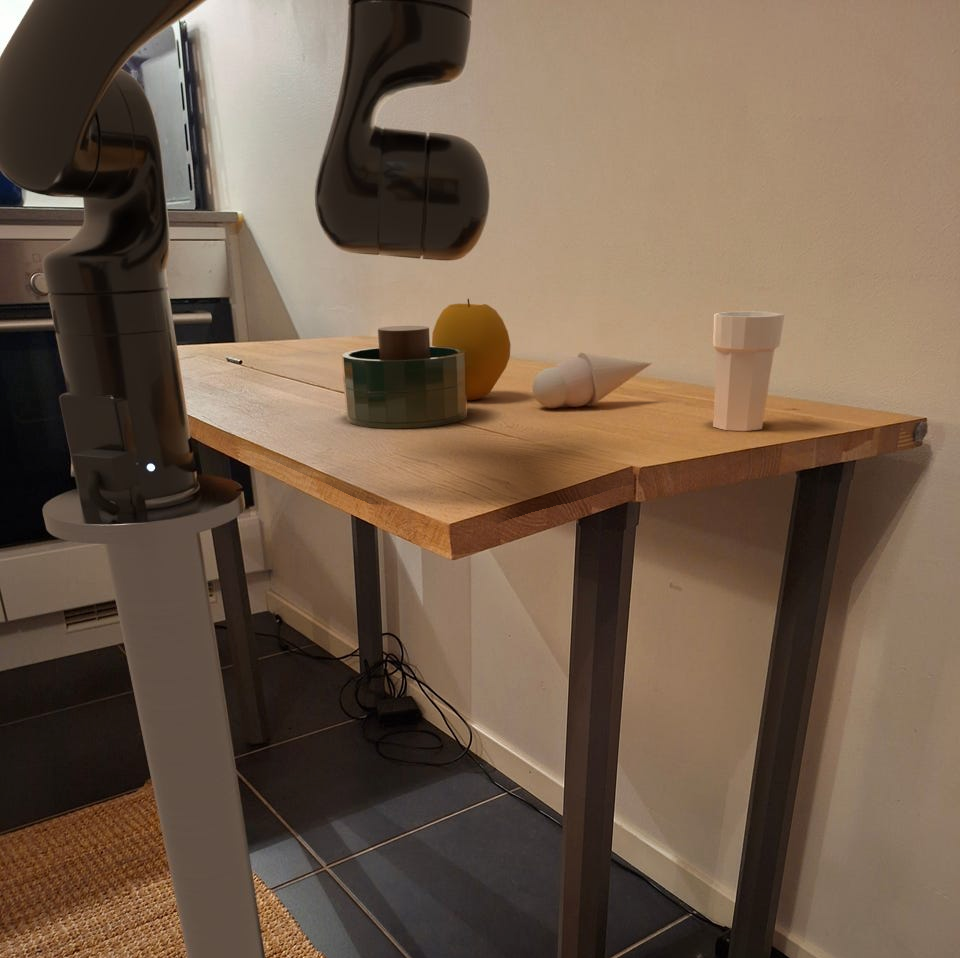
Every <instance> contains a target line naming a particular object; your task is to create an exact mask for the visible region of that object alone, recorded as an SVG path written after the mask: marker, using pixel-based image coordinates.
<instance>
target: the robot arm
mask: <svg viewBox="0 0 960 958" xmlns="http://www.w3.org/2000/svg"><path fill="white" fill-rule="evenodd" d="M207 1H208V0H32V1H31V3H30V5H29V7H28V8H27V10H26V12H25V14H23V15H24V16H23V17H22V18H21V20H20V21H19V24H18V26H17V27H16V28H15V30H14V32H13V34H12V35H11V37H10V39H9V41H8V43H7V44H6V46H5V47H4V49H3V50H2V53H1V55H0V172H1V174H2V175H3V176H4V177H5V178H6V179H7V180H9V182H11V183H13V184H14V185H15V186H17V187H18V188H20V189H22V190H24V191H27V192H29V193H34V194H37V195H42V196H46V197H47V196H48V197H52V198H53V197H54V198H55V197H56V198H82V199H83V200H82V201H83V223H82V226H81V227H80V229H79V230H78V232H77V233H76V234H75V235H73V237H72V238H71V239H70V240H68V241H67V242H66V243H64V244H62V245H60V246H58V247H56V248H53V249H52V250H50V251H48V253H46V255H45V256H44V257H43V260H42V274H43V279H44V283H45V288H46V292H47V293H48V294H47V298H48V303H49V308H50V313H51V317H52V318H51V319H52V323H53V327H54V333H55V339H56V342H57V348H58V353H59V358H60V362H61V367H62V372H63V377H64V382H65V387H66V392H64V393H61V394H60V395H59V397H58V401H59V406H60V411H61V416H62V420H63V425H64V431H65V434H66V440H67V444H68V445H67V446H68V449H69V455H70V460H71V464H72V470H73V472H74V479H75V483H76V484H75V485H76V489H78V493H79V498H80V503H81V508H88V509H97V510H103V511H105V512H107V513H109V514H110V515H112V516H115V515H117V514H118V513H119V512H123V513H132V514H137V513H141V512H143V511H147V510H152V509H159V508H165V507H169V506H174V505H177V504H181V503H184V502H187V501H189V500H191V499H193V498H195V497H197V496H198V495H199V494H200V486H199V481H198V480H197V475H198V473H197V469H196V462H195V455H194V454H195V453H196V448H195V441H194V438H193V437H192V435H191V430H190V429H191V428H190V423H189V416H188V410H187V403H186V397H185V396H186V395H185V390H184V383H183V377H182V371H181V370H182V369H181V365H180V364H181V363H180V357H179V350H178V344H177V338H176V332H175V324H174V317H173V311H172V303H171V298H170V291H169V289H168V288H169V283H168V274H167V268H168V261H169V257H170V251H171V231H170V221H169V213H168V202H167V192H166V183H165V171H164V161H163V160H164V159H163V152H162V144H161V138H160V132H159V126H158V123H157V119H156V116H155V113H154V110H153V107H152V104H151V102H150V99H149V98H148V96H147V94H146V92H145V89H143V87H142V85H141V84H140V83H139V81H138V80H137V79H136V78H135V77H134V76H133V75H132V74H130V73H129V72H127V71H126V70H125V69H122V68H123V67H124V65H126V63H127V62H128V61H129V60H130V59H131V58H132V56H134V55H135V54H136V52H138V51H139V50H140V49H141V48H142V47H144V45H146V44H147V43H148V42H150V41H151V40H153V39H154V38H155V37H157V36H158V35H159V34H161V33H163V31H166V29H168V28H169V27H171V26H173V25H174V24H175V23H177V22H179V21H180V20H181V19H183V18H184V17H186V16H187V15H189V14H191V12H194V10H196V9H197V8H198V7H200V6H202V4H204V3H206V2H207ZM473 2H474V0H347V4H348V7H347V8H348V9H347V27H346V28H347V30H346V45H345V53H344V61H343V67H342V74H341V77H340V78H341V79H340V84H339V89H338V94H337V99H336V103H335V106H334V110H333V114H332V118H331V122H330V124H329V129H328V131H327V136H326V139H325V142H324V145H323V149H322V153H321V157H320V160H319V164H318V169H317V173H316V178H315V184H314V207H315V213H316V216H317V220H318V222H319V225H320V227H321V229H322V231H323V233H324V235H325V236H326V238H327V239H328V240H329V242H330V243H331V244H332V245H333V246H334V247H335V248H337V249H339V250H341V251H343V252H346V253H349V254H350V253H351V254H356V255H357V254H358V255H369V256H384V257H393V258H408V259H417V260H419V259H422V260H432V261H444V262H445V261H446V262H447V261H448V262H449V261H457V260H461V259H464V258H465V257H466V256H467V255H469V254H470V253H471V252H472V251H473V250H474V249H475V247H477V245H478V244H479V241H480V240H481V238H482V237H483V234H484V232H485V230H486V227H487V224H488V221H489V217H490V212H491V211H490V210H491V201H492V188H491V179H490V175H489V171H488V167H487V165H486V162H485V160H484V157H483V155H482V154H481V152H480V151H479V149H478V148H477V146H475V144H474V143H472V142H471V141H470V140H469V139H466V138H464V137H461V136H458V135H455V134H451V133H450V134H449V133H444V132H443V133H442V132H434V131H433V132H432V131H430V132H428V133H427V131H419V130H410V129H400V128H390V127H382V126H379V125H377V119H378V116H379V113H380V112H381V110H382V108H383V106H384V105H385V104H386V102H387V101H388V100H390V99H391V98H392V97H394V96H395V95H397V94H400V93H403V92H407V91H410V90H411V91H412V90H417V89H424V88H425V89H426V88H431V87H439V86H444V85H448V84H451V83H454V82H456V81H457V80H458V79H460V78H461V77H462V76H463V74H464V73H465V71H466V68H467V65H468V60H469V55H470V47H471V35H472V34H471V32H472V31H471V30H472V19H473V18H472V17H473Z"/></svg>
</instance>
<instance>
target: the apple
mask: <svg viewBox="0 0 960 958" xmlns="http://www.w3.org/2000/svg"><path fill="white" fill-rule="evenodd" d="M431 335H432V336H431V346H441V347H453V348H459V349H463V350H465V351H466V371H467V401H477V400H480V399H482V398H484V397H486V396H487V395H488V394H490V393H491V392H492V391H493V389H494V387H495V385H496V384H497V382H498V380H499V379H500V378H501V376H502V374H503V373H504V372H505V370H506V368H507V366H508V363H509V360H510V358H511V345H512V344H511V340H510V335H509V332H508V329H507V327H506V325H505V322H504V320H503V319H502V317H501V316H500V314H499V313H498V311H497V310H496V309H495V308H493V307H492V306H491V305H489V304H484V303H483V304H475V303H474V304H473V303H470V298H467V303H453V304H449V305H447V306H446V307H445V308H444V309H442V311H441V312H440V314H439V316H438V318H437V319H436V322H435V324H434V326H433V330H432V334H431Z"/></svg>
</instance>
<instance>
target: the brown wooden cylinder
mask: <svg viewBox="0 0 960 958" xmlns="http://www.w3.org/2000/svg"><path fill="white" fill-rule="evenodd" d="M377 338H378V340H377V341H378V348H379V356H380V360H408V359H425V358H430V346H431V342H430V341H431V340H430V327H429V326H426V325H425V326H424V325H393V326H391V325H390V326H384V327H383V326H382V327H378V329H377Z"/></svg>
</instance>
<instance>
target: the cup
mask: <svg viewBox="0 0 960 958" xmlns="http://www.w3.org/2000/svg"><path fill="white" fill-rule="evenodd" d="M784 319H785V314H784V313H782V312H774V311H752V310H751V311H750V310H749V311H747V310H746V311H723V312H717V313H714V314H713V336H712V337H713V339H712V346H713V348H714V350H715V369H714V370H715V371H714V395H713V396H714V402H713V423H712V424H713V425H712V427H713V428H716V429H720V430H724V431H734V432H735V431H737V432H750V431H757V430H762V429H763V427H764V419H765V412H766V408H767V407H766V406H767V399H768V393H769V388H770V381H771V376H772V375H771V374H772V369H773V364H774V357H775V351H776V349H777V348H779V347H780V344H781V339H782V332H783V325H784Z"/></svg>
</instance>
